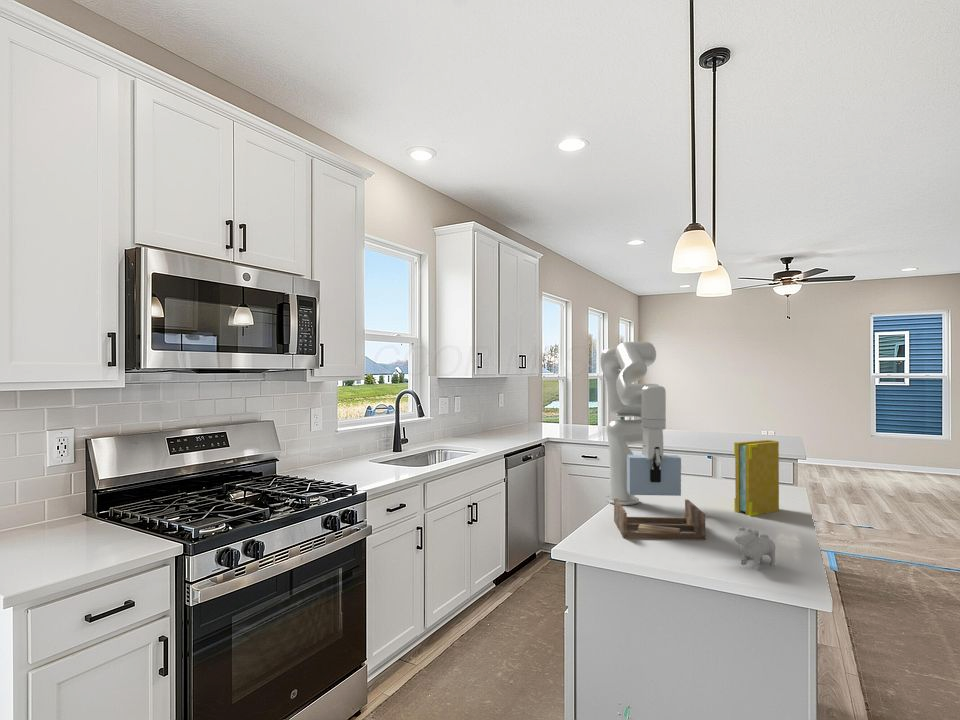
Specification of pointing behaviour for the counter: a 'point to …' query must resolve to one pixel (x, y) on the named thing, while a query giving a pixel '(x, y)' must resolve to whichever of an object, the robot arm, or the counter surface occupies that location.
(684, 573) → the counter surface
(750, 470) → the book
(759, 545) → the grey animal figure
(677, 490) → the blue-grey rectangular block
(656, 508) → the counter surface
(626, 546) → the counter surface
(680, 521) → the rack
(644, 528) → the offcut top
